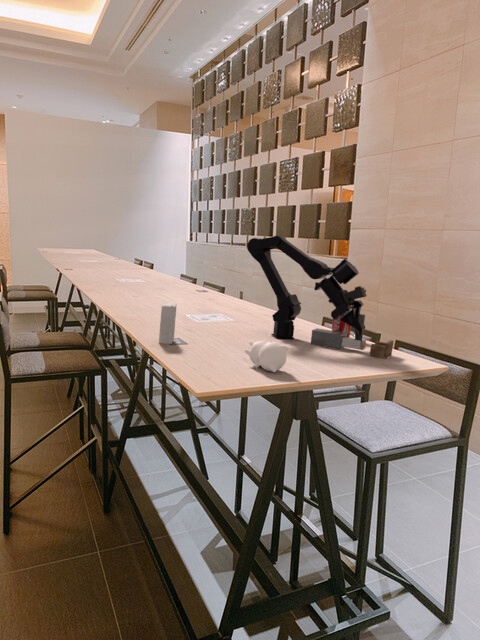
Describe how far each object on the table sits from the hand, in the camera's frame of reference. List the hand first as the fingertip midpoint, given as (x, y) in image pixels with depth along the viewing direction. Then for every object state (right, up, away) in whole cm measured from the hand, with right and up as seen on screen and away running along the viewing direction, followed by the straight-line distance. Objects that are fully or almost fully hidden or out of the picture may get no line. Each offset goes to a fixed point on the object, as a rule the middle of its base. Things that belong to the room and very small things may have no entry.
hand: (362, 329), depth 160 cm
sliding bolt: (-7, -5, +5) cm, 10 cm away
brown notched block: (+5, -8, -2) cm, 10 cm away
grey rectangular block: (-11, -6, +7) cm, 14 cm away
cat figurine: (-33, -10, -29) cm, 45 cm away
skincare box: (-65, -4, -7) cm, 65 cm away
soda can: (-3, -4, +23) cm, 23 cm away
